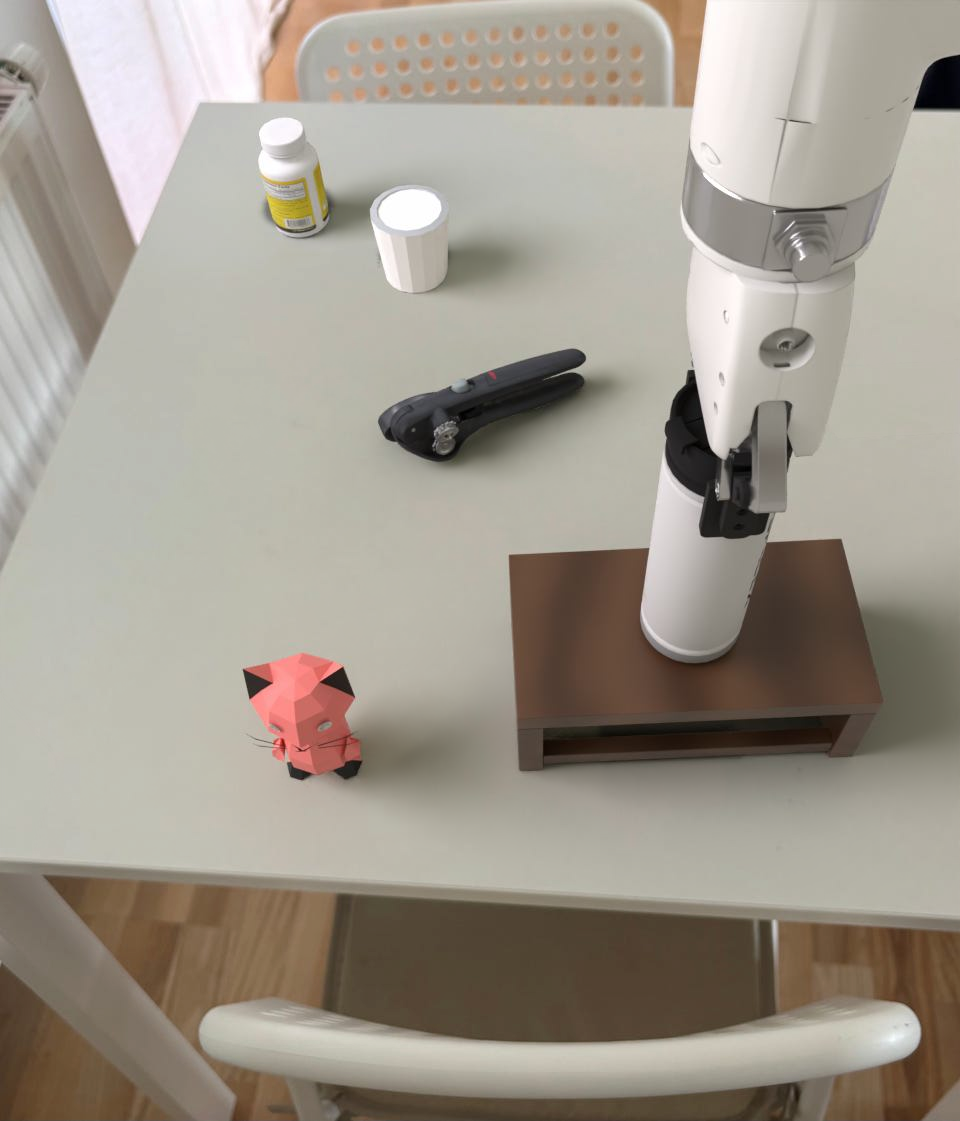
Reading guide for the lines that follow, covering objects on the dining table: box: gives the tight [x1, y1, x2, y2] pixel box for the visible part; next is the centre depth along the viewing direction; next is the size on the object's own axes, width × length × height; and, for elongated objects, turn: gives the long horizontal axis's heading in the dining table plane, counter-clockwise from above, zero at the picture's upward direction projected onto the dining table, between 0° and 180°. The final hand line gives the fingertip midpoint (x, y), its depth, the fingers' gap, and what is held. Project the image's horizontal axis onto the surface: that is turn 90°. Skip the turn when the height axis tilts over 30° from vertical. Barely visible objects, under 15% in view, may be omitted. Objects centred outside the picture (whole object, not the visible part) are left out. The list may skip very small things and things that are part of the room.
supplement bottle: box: [258, 117, 330, 238], centre depth 101 cm, size 5×5×10 cm
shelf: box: [508, 538, 884, 772], centre depth 73 cm, size 22×12×8 cm, turn 92°
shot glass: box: [369, 184, 450, 294], centre depth 98 cm, size 7×7×7 cm
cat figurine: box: [242, 652, 363, 781], centre depth 69 cm, size 7×7×12 cm
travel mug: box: [640, 379, 794, 663], centre depth 61 cm, size 6×7×20 cm
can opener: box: [377, 348, 587, 463], centre depth 88 cm, size 18×7×6 cm, turn 115°
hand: (720, 474), depth 57 cm, fingers closed on travel mug, 6 cm apart
